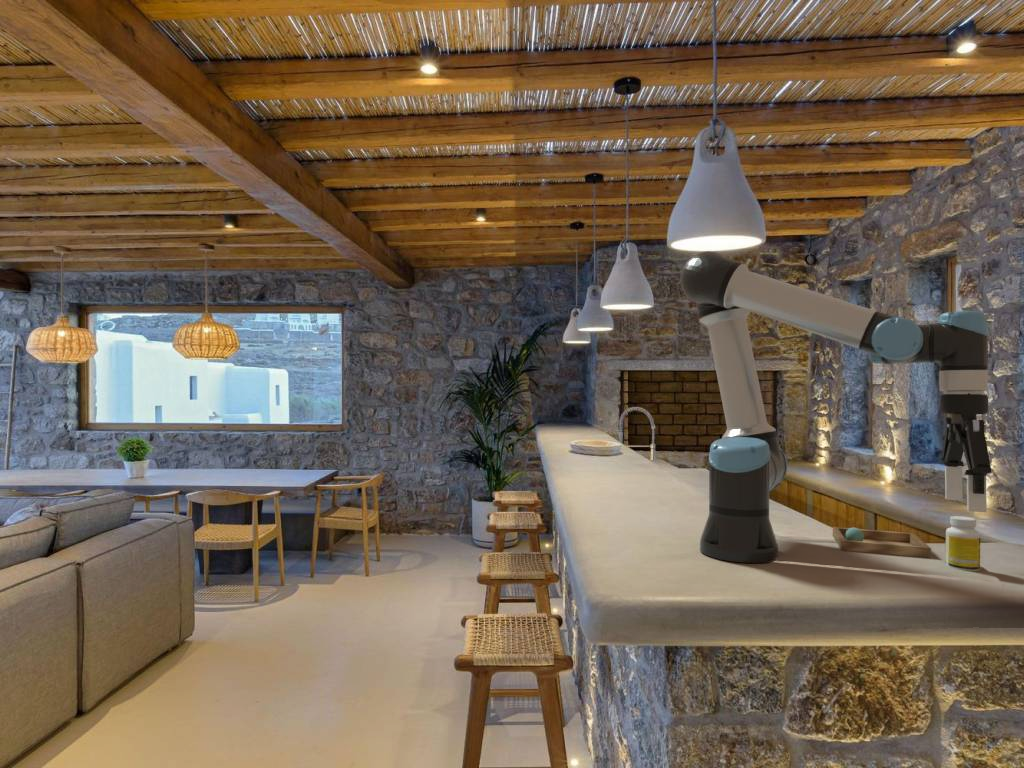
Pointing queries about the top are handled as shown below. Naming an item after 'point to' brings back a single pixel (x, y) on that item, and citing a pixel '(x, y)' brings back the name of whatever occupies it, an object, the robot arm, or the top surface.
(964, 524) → the supplement bottle
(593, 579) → the top surface
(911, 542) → the tray
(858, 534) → the ball
